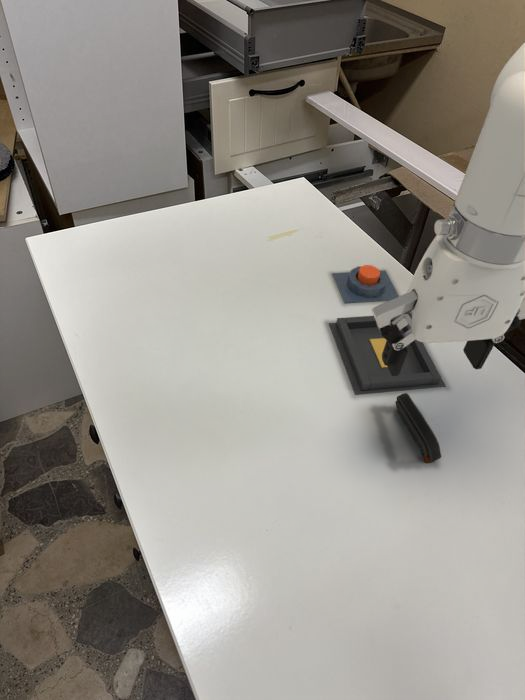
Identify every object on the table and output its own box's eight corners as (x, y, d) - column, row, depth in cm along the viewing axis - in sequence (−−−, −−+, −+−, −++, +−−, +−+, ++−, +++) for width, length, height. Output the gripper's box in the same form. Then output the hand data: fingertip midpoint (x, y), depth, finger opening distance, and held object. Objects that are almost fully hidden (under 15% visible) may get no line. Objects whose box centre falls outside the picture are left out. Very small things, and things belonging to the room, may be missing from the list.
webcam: (437, 467, 68) (452, 442, 64) (392, 469, 67) (403, 444, 63) (416, 411, 74) (428, 385, 70) (374, 412, 74) (383, 386, 70)
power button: (374, 272, 92) (376, 264, 91) (380, 285, 90) (383, 277, 88) (354, 273, 92) (356, 265, 90) (360, 286, 89) (362, 278, 88)
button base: (383, 275, 96) (387, 262, 94) (398, 304, 91) (403, 290, 88) (331, 278, 94) (334, 264, 92) (343, 307, 89) (346, 294, 87)
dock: (408, 321, 88) (412, 310, 86) (444, 390, 77) (449, 379, 76) (327, 327, 85) (329, 316, 83) (353, 399, 75) (357, 388, 73)
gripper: (414, 260, 42) (367, 396, 54) (603, 252, 45) (518, 382, 57) (383, 210, 47) (347, 344, 59) (554, 205, 50) (486, 334, 62)
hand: (431, 363), depth 58 cm, fingers open, 9 cm apart
